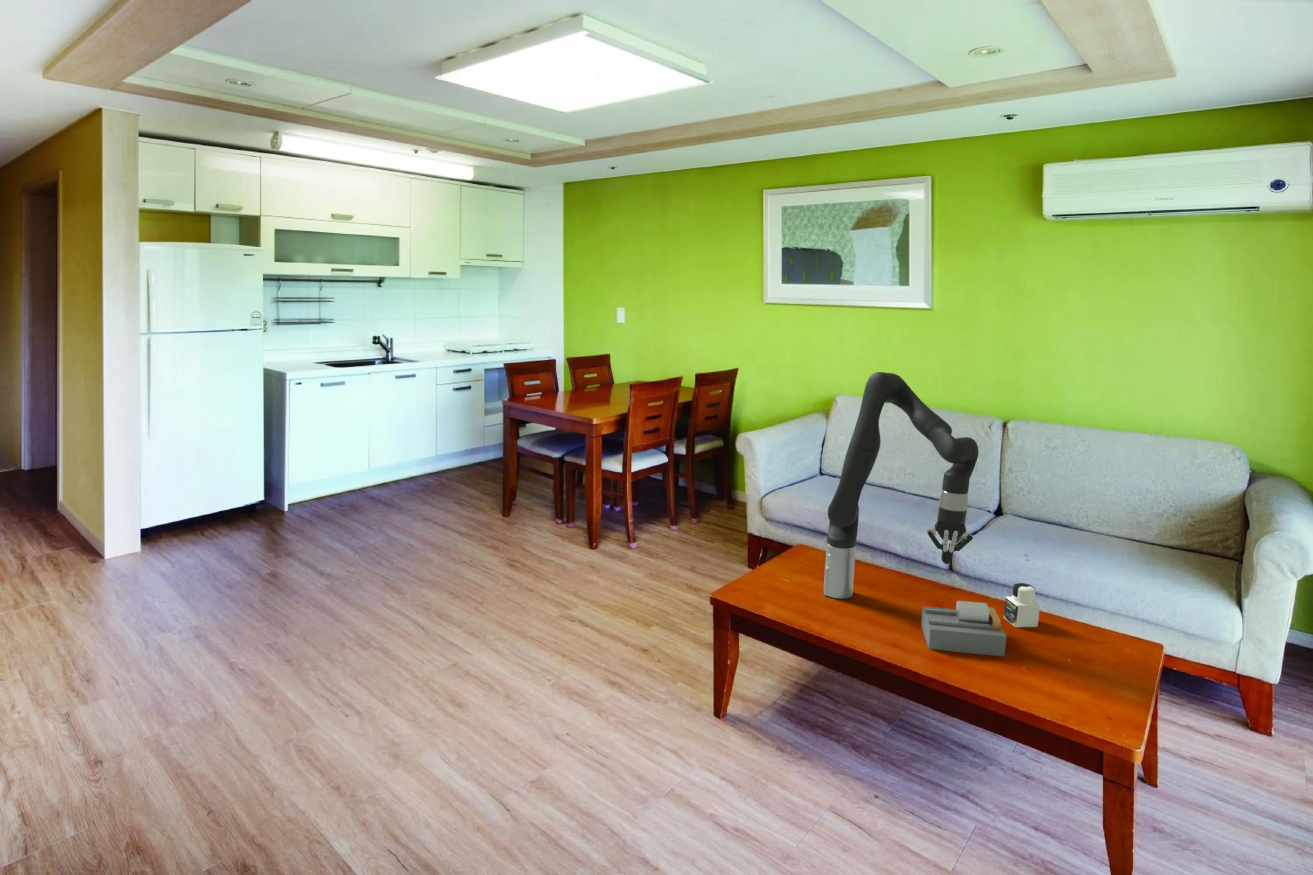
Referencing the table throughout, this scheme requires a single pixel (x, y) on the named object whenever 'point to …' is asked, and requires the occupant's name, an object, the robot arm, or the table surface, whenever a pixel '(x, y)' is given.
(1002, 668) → the table surface
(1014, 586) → the medicine bottle
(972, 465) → the robot arm
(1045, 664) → the table surface
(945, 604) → the table surface
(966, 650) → the channel stand
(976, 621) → the aluminium block
